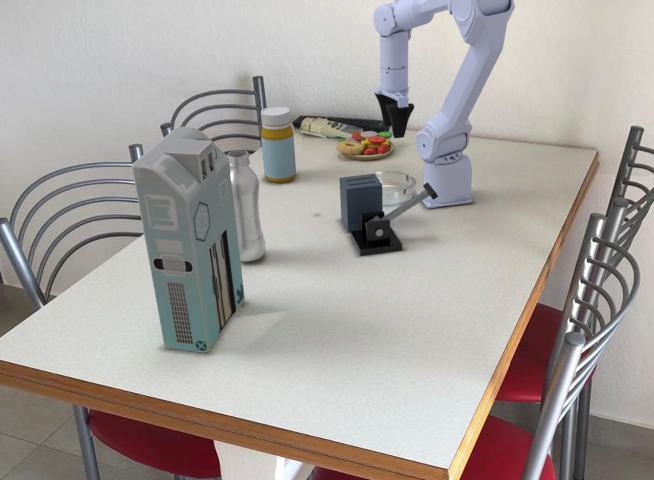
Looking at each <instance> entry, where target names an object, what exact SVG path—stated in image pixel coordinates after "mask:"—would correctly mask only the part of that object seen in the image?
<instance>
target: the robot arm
mask: <svg viewBox="0 0 654 480" xmlns="http://www.w3.org/2000/svg"><path fill="white" fill-rule="evenodd" d="M374 9H375V10H374V12H373V19H372V20H373V25H374V28H375V31H376V32H377V33H378V34H379V78H380V79H379V87H375V88H374V95H375V97H376V99H377V102H378V104H379V105H378V106H379V108H380V112H381V118H382V122H383V125H384V127H386V128H387V127H391V131H392V132H391V133H392V137H393V138H394V139H402V138H405V136H406V131H407V127H408V123H409V121H410V117H411V115H412V113H413V111H414V109H415V104H414V103H411V102H409V92H410V87H409V41H411V39H412V31H413V29H415V28H418V27H421V26H424V25H428V24H429V23H431V22H432V21H433V19H434V17H435V14H438V13H441V12H445V11H448V15H452V18H453V19H454V22H455V24H456V26H457V28H458V30H459V33H460V35H461V38H462V39H463V43H465V44H467V45H469V47H468V50H467V51H466V53H465V56H464V58H463V60H462V62H461V64H460V66H459V68H458V70H457V73H456V75H455V78H454V79H453V81H452V84H451V86H450V87H449V90H448V92H447V95H446V97H445V99H444V101H443V103H442V105H441V108H440V110H439V111H438V112H437V113H436V114H435V115H434V116H432V117H431V118H430V119H429V120H427V121H426V123H425V124H424V126H423V127H422V129H419V130H418V131H417V133H416V135H415V141H414V144H415V150H416V152H417V154H418V156H419V157H420V159H421V160H422V161H423V184H422V190H419V191H417V192H416V196H417V195H418V194H420V193H421V192H423V191H425V189H424V187H423V185H424V184H426V183H427V182H428V183H429V184H430V186H431V187H432V188H433V189H434V191H435V192H436V193H437V195H438V197H437V198H436V199H434V200H433V199H432V198H431V197H430V196H429V197H427V198H426V199H424V200H422V201H421V202H422V203H423V205H425V207H426V208H427V209H434V208H441V207H450V206H457V205H464V204H471V203H472V202H473V200H472V179H473V167H472V162H471V159H470V157H469V155H468V154H464V151H465V150H466V149H467V148H468V146H469V144H470V135H471V132H472V130H473V124H472V122H471V121H470V119H469V117H470V115H471V114H472V111H473V109H474V107H475V105H476V103H477V101H478V99H479V97H480V95H481V93H482V91H483V90H484V87H485V85H486V84H487V81H488V79H489V78H490V76H491V73H492V71H493V69H494V67H495V65H496V63H497V61H498V59H499V58H500V55H501V53H502V51H503V50H504V45H505V39H506V32H507V27H508V23H509V21H510V18H511V17H512V15H513V13H514V12H515V9H516V5H515V1H514V0H394V1H393V2H389V3H380V4H379V5H378V6H377V7H376V8H374Z"/></svg>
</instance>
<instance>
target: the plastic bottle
mask: <svg viewBox="0 0 654 480" xmlns="http://www.w3.org/2000/svg"><path fill="white" fill-rule="evenodd" d="M227 157H228V160H229V165H230V174H231V183H232V192H233V200H234V209H235V218H236V227H237V235H238V244H239V253H240V261H241V262H245V263H247V262H254V261H257V260H260V259H262V257H263V256H264V254H265V252H266V239H265V235H264V232H263V228H262V223H261V218H260V211H259V210H260V205H259V198H260V197H259V196H260V195H259V194H260V180H259V177H258V175H257V174H256V173H255V171H254V170H253V169H252V168H251V166H250V163H251V160H250V155H249V152H248V151H247V150H244V149H235V150H231V151H229V152H228V153H227Z"/></svg>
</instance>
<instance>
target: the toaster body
mask: <svg viewBox="0 0 654 480" xmlns="http://www.w3.org/2000/svg"><path fill="white" fill-rule="evenodd" d="M339 195H340V196H339V197H340V220H341V222H342V225H343V227H344V228H345V230H346V232H347V233H348V234H350V231H355V230H361V214H362V213H370V212H378V211H384V210H383V205H384V204H383V184H382V182H381V180H380V179H379V178H378V177H377V175H376V173H368V174H366V173H365V174H359V175H350V176H344V177H339Z"/></svg>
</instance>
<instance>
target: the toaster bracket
mask: <svg viewBox="0 0 654 480" xmlns="http://www.w3.org/2000/svg"><path fill="white" fill-rule="evenodd" d="M377 215H378V217H379V219H381V218H382V217H384V216H386V214H385V211H384V210H383V211H378V212H370V213H362V214H361V230H355V231H350V233H349V237H350V239H351V241H352V243H353V245H354V247H355V248H356V251H357V252H358V254H359V256H360V257H363V256H369V255H376V254H383V253H384V254H385V253H391V252H400V251H403V244H402V242H401V240H400V239H399V237H398V236H397V234H396V233H395V231H394V230H393V228H392V227H391V221H390V220H389V219H387V220H379V221H372V222H367V221H369V220H371V219H372V218H374V217H375V216H377ZM365 223H366V225H365Z"/></svg>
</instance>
